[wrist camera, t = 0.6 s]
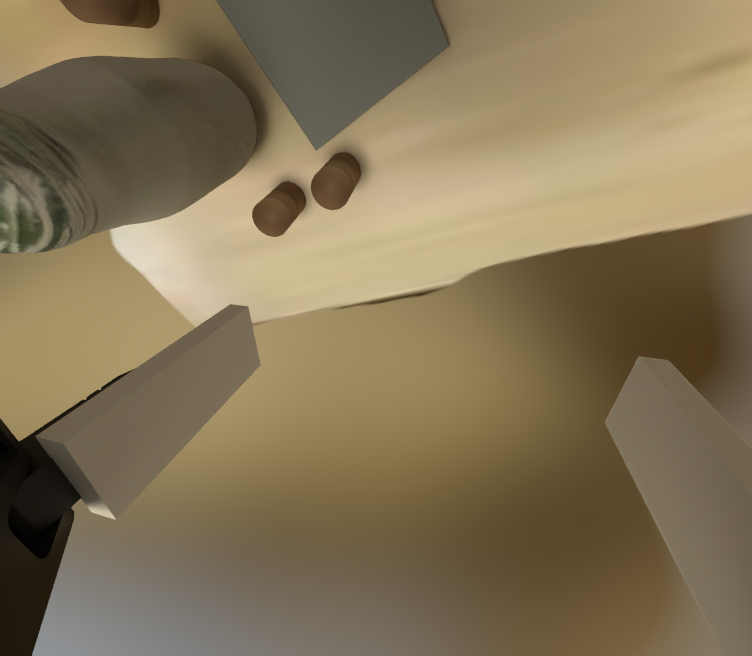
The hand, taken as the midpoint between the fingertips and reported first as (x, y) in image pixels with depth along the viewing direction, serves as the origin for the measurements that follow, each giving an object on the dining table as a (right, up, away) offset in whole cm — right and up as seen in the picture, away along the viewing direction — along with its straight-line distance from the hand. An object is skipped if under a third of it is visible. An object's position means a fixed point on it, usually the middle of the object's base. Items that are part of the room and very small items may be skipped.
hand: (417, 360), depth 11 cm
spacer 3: (-5, +20, +27) cm, 34 cm away
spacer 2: (-12, +18, +30) cm, 37 cm away
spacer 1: (-24, +32, +19) cm, 45 cm away
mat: (-6, +30, +18) cm, 35 cm away
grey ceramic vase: (-18, +25, +25) cm, 40 cm away
